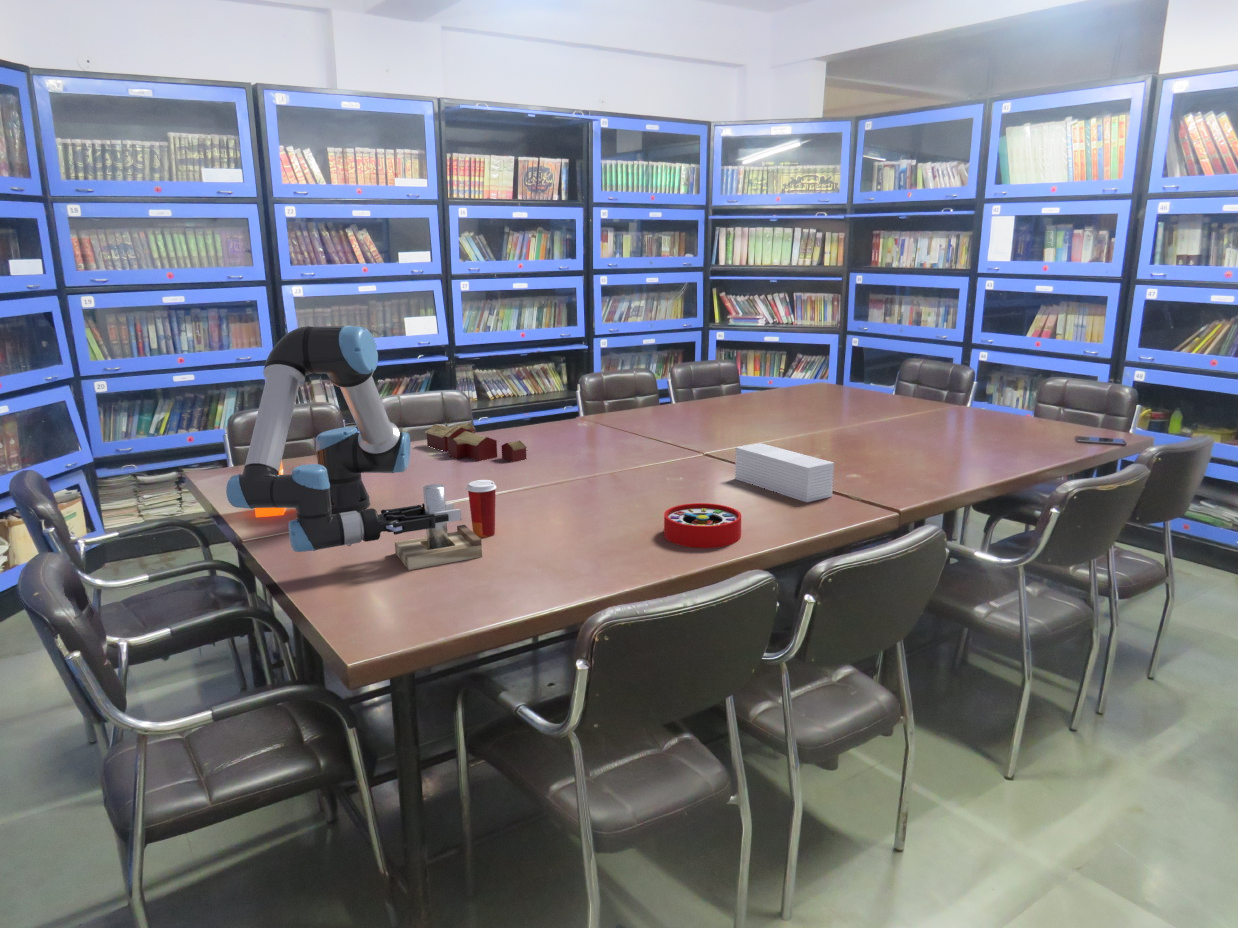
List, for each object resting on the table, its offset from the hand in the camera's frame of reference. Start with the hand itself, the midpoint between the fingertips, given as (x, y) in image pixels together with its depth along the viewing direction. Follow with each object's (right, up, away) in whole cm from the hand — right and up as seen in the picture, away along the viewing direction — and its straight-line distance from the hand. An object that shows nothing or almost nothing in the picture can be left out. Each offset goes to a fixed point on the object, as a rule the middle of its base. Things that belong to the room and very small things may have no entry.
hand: (456, 511), depth 205 cm
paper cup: (+4, -7, +15) cm, 17 cm away
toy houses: (-13, +15, +105) cm, 107 cm away
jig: (-5, -11, 0) cm, 12 cm away
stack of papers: (+91, +4, +55) cm, 107 cm away
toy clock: (+62, -7, +13) cm, 63 cm away
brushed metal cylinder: (-5, -9, 0) cm, 10 cm away
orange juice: (-61, -2, +37) cm, 71 cm away
